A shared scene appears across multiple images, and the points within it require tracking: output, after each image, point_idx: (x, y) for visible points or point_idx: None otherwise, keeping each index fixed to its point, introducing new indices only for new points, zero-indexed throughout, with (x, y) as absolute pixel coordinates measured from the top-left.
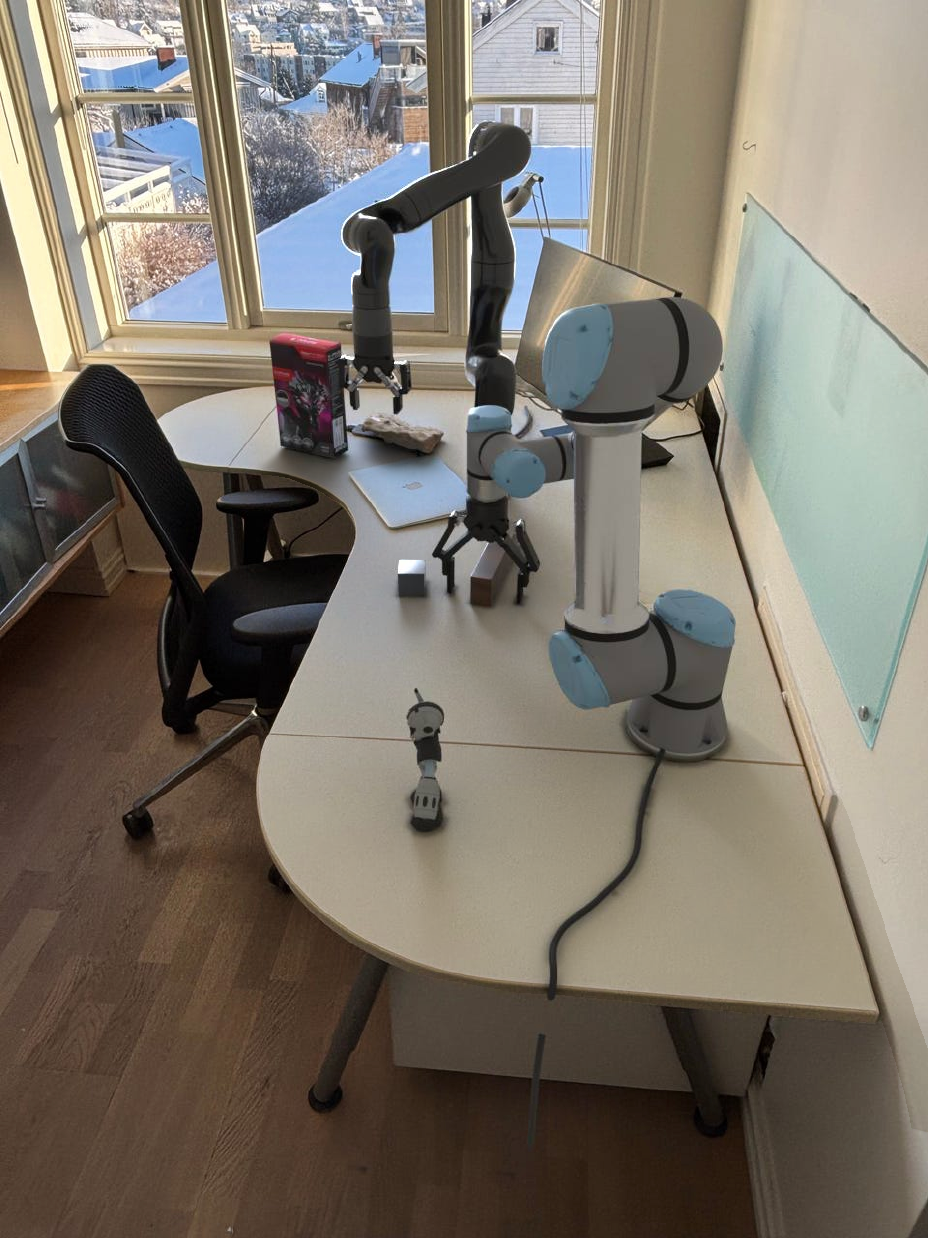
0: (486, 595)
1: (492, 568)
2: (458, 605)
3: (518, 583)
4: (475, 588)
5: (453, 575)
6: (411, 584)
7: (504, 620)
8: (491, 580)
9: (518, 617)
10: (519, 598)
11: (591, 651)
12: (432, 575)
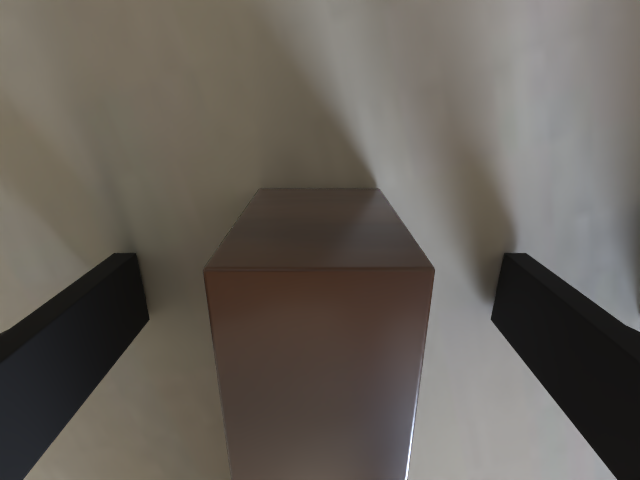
0: (275, 207)
1: (261, 436)
2: (443, 155)
3: (29, 330)
4: (361, 221)
5: (540, 352)
6: None
7: (131, 67)
8: (205, 265)
9: (69, 127)
10: (97, 267)
11: None
12: None
